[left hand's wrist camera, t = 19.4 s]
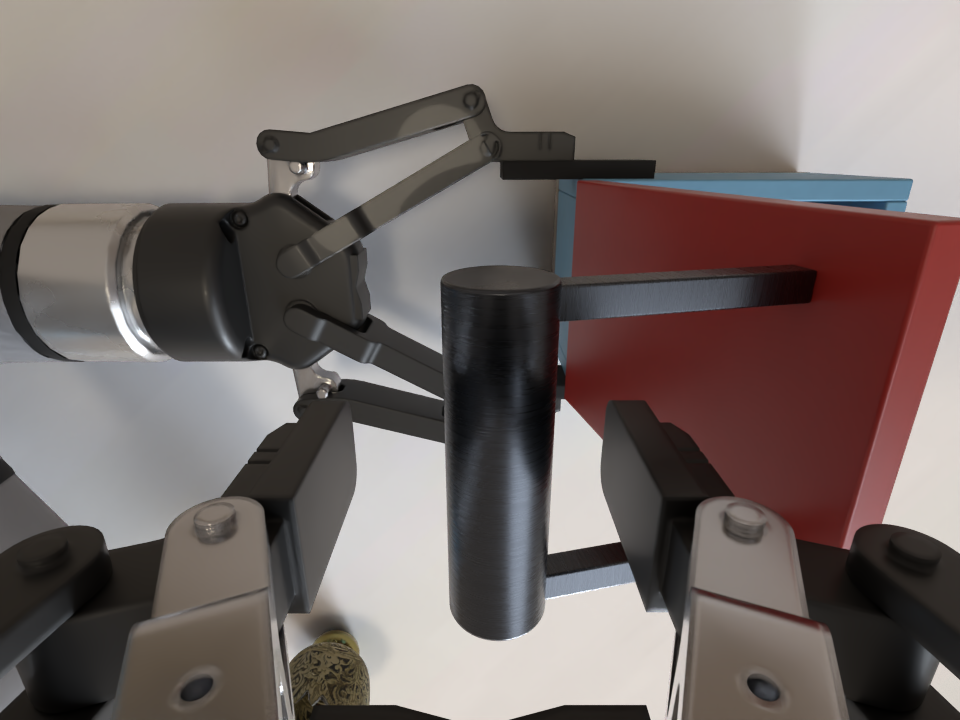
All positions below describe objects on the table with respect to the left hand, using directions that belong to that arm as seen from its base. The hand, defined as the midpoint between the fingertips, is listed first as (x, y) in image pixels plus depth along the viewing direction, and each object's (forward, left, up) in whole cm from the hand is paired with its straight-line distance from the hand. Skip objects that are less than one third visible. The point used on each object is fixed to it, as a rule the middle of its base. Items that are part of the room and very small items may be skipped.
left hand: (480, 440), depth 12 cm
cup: (+30, +13, -22) cm, 39 cm away
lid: (-4, +5, -6) cm, 9 cm away
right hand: (-5, +5, -15) cm, 17 cm away
